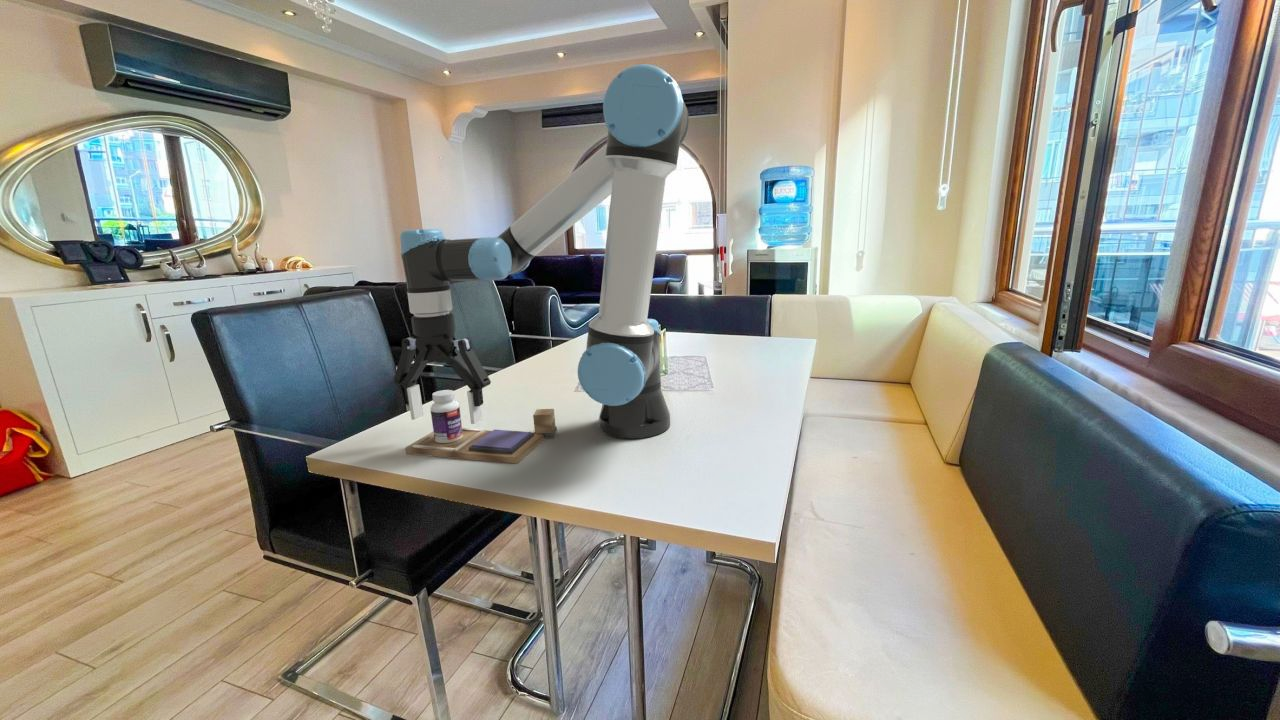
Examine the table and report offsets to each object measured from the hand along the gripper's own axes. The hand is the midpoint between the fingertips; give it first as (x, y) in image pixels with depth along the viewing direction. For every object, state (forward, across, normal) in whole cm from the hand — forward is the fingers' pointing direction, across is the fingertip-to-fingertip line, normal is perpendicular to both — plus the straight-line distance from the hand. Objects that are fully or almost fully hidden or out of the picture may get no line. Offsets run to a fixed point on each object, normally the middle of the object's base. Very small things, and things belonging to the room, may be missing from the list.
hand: (446, 419), depth 102 cm
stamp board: (+5, -6, 0) cm, 8 cm away
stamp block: (+5, -17, -8) cm, 20 cm away
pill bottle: (+4, 0, 0) cm, 4 cm away
